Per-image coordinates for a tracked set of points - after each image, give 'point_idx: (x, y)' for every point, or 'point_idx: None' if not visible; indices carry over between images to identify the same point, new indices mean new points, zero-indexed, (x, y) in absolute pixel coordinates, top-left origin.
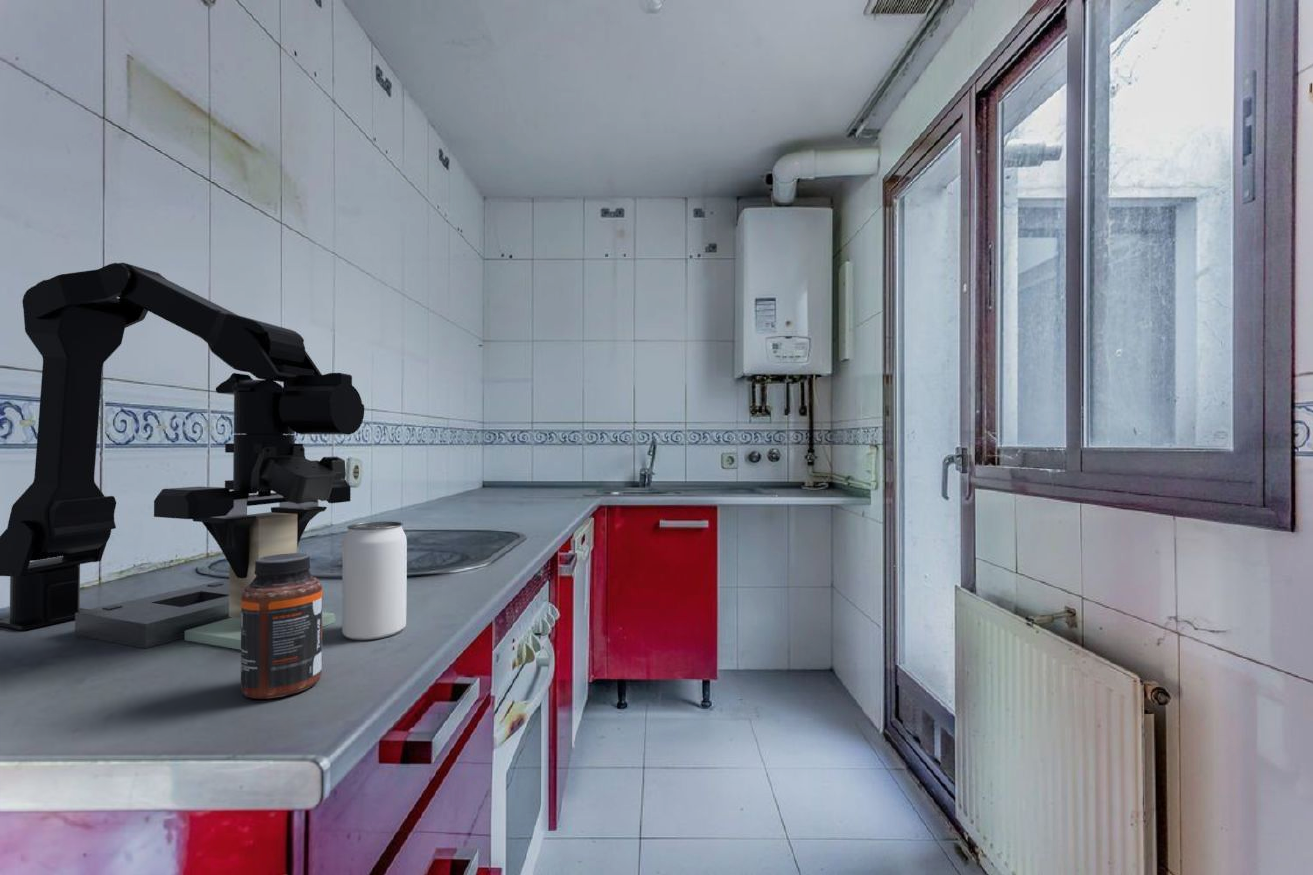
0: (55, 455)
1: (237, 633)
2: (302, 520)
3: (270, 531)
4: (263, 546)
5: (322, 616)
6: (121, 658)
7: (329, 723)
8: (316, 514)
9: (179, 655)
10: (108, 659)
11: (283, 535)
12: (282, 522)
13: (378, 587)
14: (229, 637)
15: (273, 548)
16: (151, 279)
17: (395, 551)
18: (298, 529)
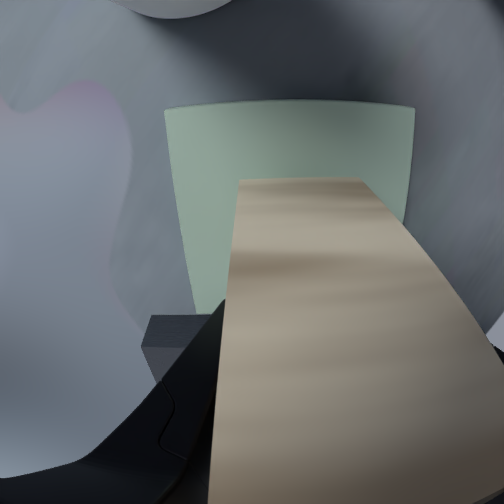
0: None
1: (382, 191)
2: (136, 481)
3: (452, 402)
4: (452, 325)
5: (197, 120)
6: (456, 285)
7: None
8: (24, 477)
9: (442, 220)
10: (459, 296)
11: (343, 382)
12: (374, 478)
13: None
14: (405, 182)
15: (393, 314)
16: None
17: None
18: (169, 432)
